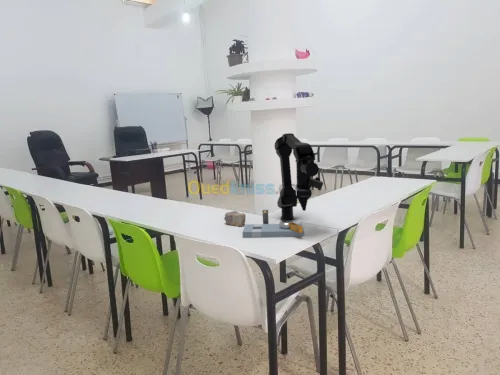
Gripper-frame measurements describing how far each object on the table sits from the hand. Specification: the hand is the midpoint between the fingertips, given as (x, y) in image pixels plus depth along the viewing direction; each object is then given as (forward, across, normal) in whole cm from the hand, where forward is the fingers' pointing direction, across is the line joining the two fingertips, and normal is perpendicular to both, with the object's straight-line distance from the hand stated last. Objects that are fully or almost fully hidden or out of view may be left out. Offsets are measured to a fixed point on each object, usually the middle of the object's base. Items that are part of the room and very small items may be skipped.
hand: (303, 207), depth 172 cm
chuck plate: (+10, -3, +14) cm, 18 cm away
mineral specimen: (+11, +13, +33) cm, 37 cm away
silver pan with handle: (+8, -6, +6) cm, 11 cm away
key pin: (+11, +7, +18) cm, 22 cm away
